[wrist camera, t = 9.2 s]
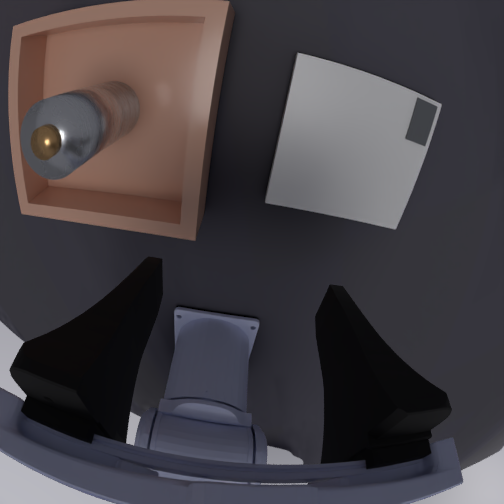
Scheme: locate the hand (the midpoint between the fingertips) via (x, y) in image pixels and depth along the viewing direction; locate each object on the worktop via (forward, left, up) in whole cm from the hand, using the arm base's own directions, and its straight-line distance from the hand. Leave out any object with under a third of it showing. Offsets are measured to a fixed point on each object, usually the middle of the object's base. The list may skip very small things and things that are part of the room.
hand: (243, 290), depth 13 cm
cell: (+5, +10, -9) cm, 14 cm away
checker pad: (+5, -6, -9) cm, 12 cm away
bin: (+5, +10, -9) cm, 15 cm away
